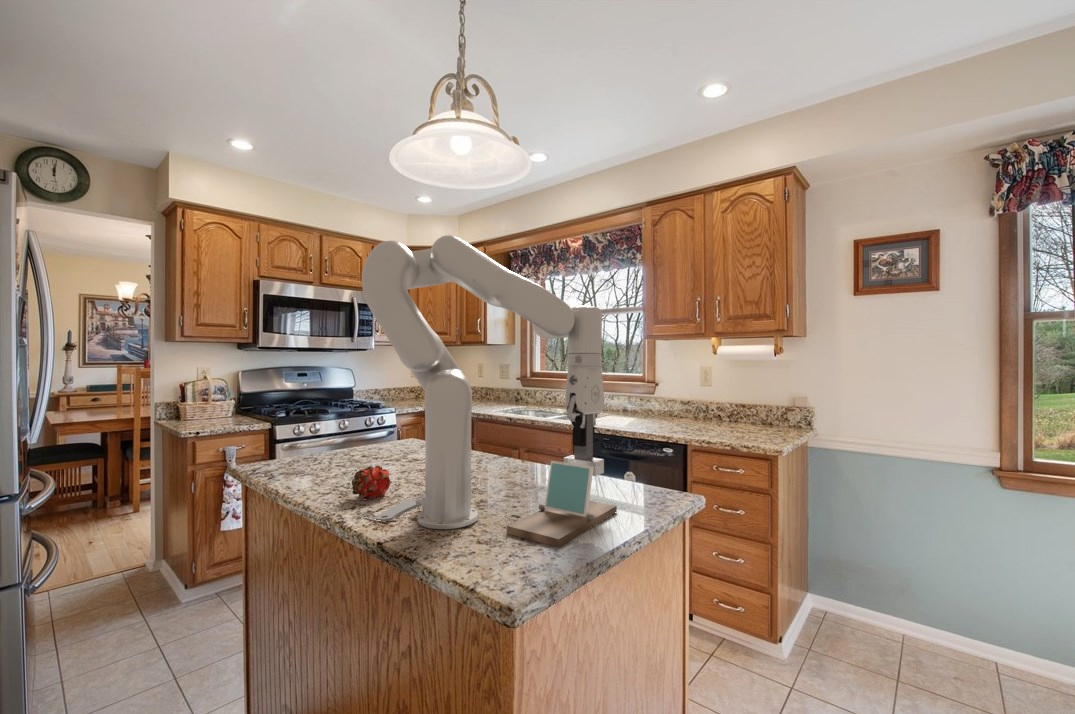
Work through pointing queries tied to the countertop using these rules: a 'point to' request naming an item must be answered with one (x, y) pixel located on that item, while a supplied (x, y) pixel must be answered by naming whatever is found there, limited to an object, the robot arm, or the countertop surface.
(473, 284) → the robot arm
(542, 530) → the board
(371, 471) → the dragon fruit
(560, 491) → the tile
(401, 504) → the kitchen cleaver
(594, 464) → the rubber stamp
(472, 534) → the countertop surface
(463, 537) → the countertop surface
